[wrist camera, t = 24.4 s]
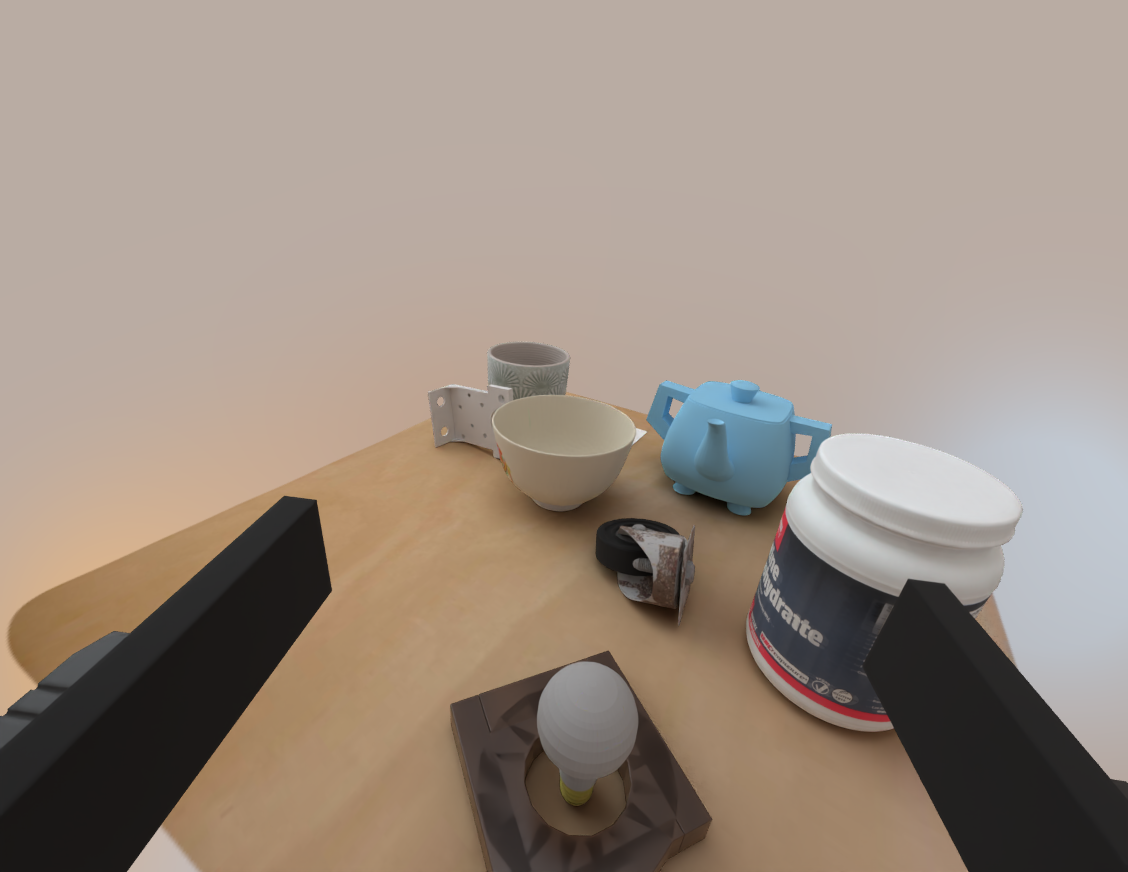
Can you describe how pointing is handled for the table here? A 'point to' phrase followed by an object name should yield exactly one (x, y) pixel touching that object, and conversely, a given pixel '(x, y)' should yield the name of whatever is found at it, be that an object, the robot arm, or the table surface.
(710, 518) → the table surface
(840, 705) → the supplement tub
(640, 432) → the white tile
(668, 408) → the teapot
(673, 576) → the caster wheel
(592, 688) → the light bulb
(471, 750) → the socket board
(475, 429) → the bracket
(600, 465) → the bowl
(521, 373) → the planter
